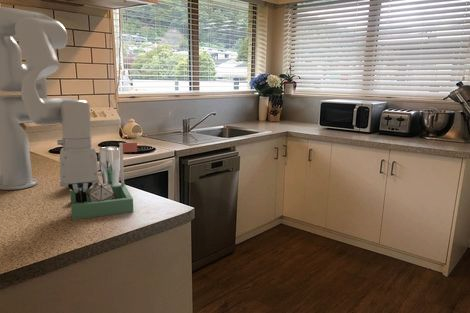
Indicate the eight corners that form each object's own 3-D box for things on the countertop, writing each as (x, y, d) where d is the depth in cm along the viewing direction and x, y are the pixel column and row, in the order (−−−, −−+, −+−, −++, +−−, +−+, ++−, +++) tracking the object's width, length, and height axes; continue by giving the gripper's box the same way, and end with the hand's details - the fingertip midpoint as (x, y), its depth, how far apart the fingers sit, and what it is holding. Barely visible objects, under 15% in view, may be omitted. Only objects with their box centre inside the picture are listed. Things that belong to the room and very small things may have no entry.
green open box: (72, 219, 100) (67, 155, 96) (70, 201, 114) (66, 145, 111) (148, 210, 109) (146, 150, 105) (138, 194, 123) (136, 142, 119)
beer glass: (109, 194, 122) (107, 150, 119) (96, 191, 126) (93, 148, 123) (126, 189, 128) (124, 147, 125) (112, 186, 132) (110, 145, 128)
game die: (103, 222, 108) (102, 201, 101) (80, 208, 110) (78, 187, 103) (123, 202, 114) (123, 182, 107) (101, 189, 116) (100, 168, 109)
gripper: (47, 147, 98) (53, 211, 102) (106, 144, 104) (109, 205, 108) (48, 142, 105) (53, 203, 108) (103, 140, 111) (106, 197, 115)
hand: (81, 204), depth 108 cm, fingers closed
